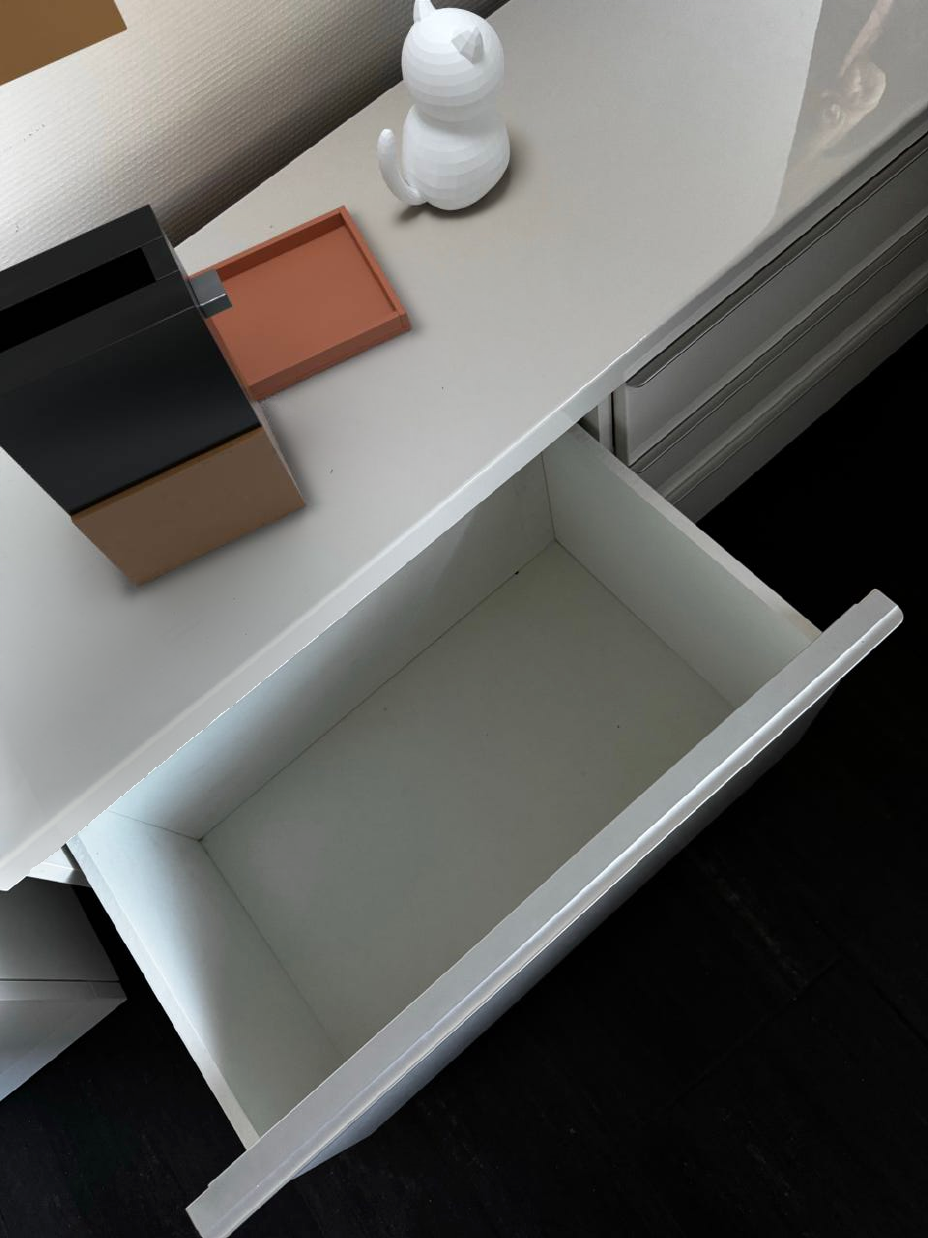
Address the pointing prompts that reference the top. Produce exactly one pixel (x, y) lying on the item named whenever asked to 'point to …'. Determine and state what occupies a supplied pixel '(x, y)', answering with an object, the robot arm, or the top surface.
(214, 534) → the toaster
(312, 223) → the tray
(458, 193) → the cat figurine
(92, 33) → the toast
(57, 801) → the top surface
